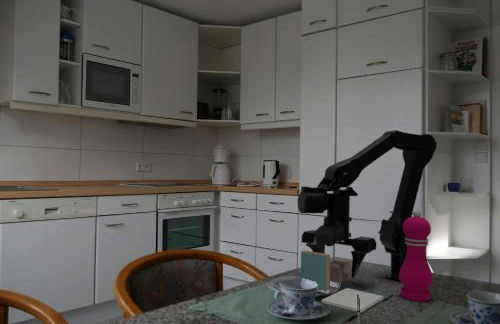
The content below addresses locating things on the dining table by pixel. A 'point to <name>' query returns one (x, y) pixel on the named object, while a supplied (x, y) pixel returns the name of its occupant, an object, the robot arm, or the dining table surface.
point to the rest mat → (352, 299)
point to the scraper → (339, 270)
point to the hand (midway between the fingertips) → (336, 273)
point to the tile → (316, 268)
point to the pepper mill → (416, 260)
